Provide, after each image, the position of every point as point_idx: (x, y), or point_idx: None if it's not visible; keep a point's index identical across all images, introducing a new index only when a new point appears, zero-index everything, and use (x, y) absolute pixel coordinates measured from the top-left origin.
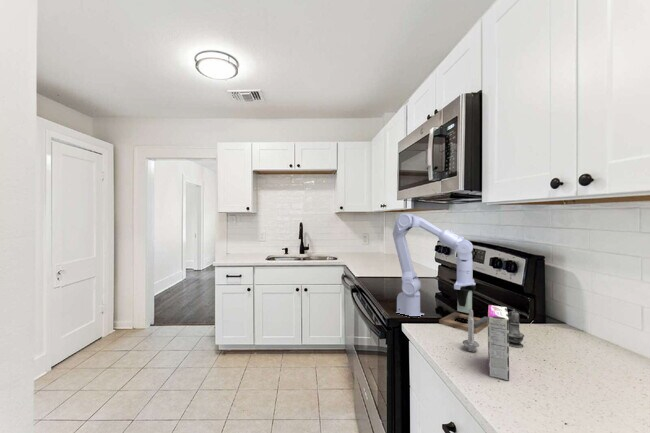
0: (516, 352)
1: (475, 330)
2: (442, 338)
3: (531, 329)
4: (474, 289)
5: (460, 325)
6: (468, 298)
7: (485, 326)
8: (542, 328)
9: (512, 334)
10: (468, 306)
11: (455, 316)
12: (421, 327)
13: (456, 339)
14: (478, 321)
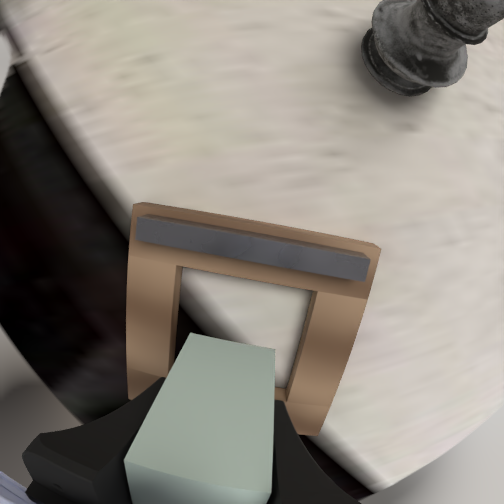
0: (476, 62)
1: (378, 251)
2: (488, 350)
3: (101, 22)
4: (68, 441)
5: (354, 339)
6: (253, 432)
7: (219, 215)
8: (67, 4)
9: (460, 47)
10: (258, 377)
11: None
12: (403, 445)
13: (482, 305)
14: (290, 257)
